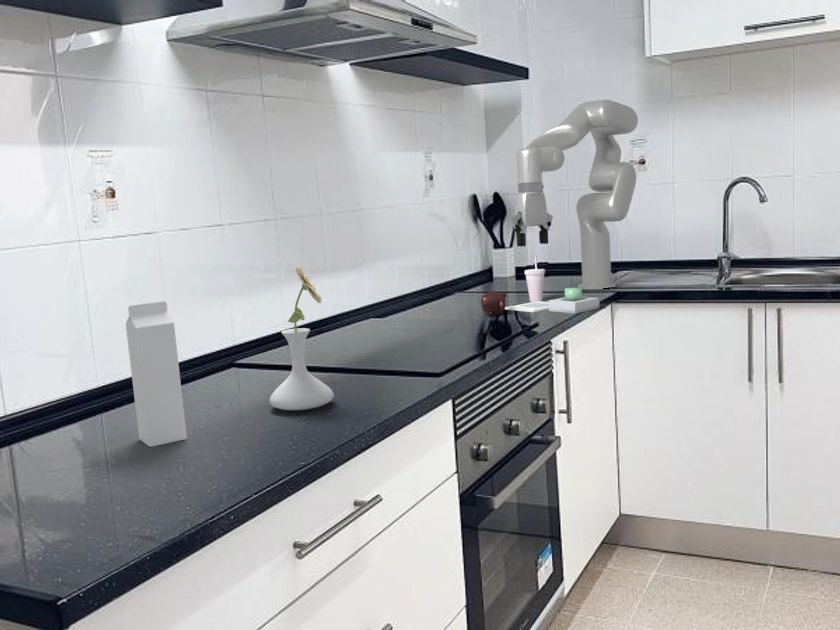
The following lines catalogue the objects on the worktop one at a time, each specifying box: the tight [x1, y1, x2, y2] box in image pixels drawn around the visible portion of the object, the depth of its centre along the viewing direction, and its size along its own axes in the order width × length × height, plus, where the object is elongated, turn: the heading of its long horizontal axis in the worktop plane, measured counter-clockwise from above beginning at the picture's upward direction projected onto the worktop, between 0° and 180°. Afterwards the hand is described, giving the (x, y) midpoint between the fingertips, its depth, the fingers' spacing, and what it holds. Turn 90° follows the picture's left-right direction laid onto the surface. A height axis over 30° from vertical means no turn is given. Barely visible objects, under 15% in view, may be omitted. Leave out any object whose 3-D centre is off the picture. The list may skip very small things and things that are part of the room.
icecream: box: [480, 291, 507, 317], centre depth 241 cm, size 7×7×15 cm
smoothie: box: [524, 255, 546, 303], centre depth 263 cm, size 6×6×14 cm
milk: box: [125, 300, 188, 448], centre depth 134 cm, size 6×6×22 cm
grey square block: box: [548, 296, 600, 315], centre depth 241 cm, size 10×10×3 cm
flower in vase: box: [269, 265, 335, 411], centre depth 149 cm, size 13×11×25 cm
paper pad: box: [504, 300, 549, 313], centre depth 250 cm, size 14×12×1 cm
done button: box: [564, 286, 583, 301], centre depth 240 cm, size 5×5×4 cm
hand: (532, 244), depth 261 cm, fingers open, 9 cm apart
